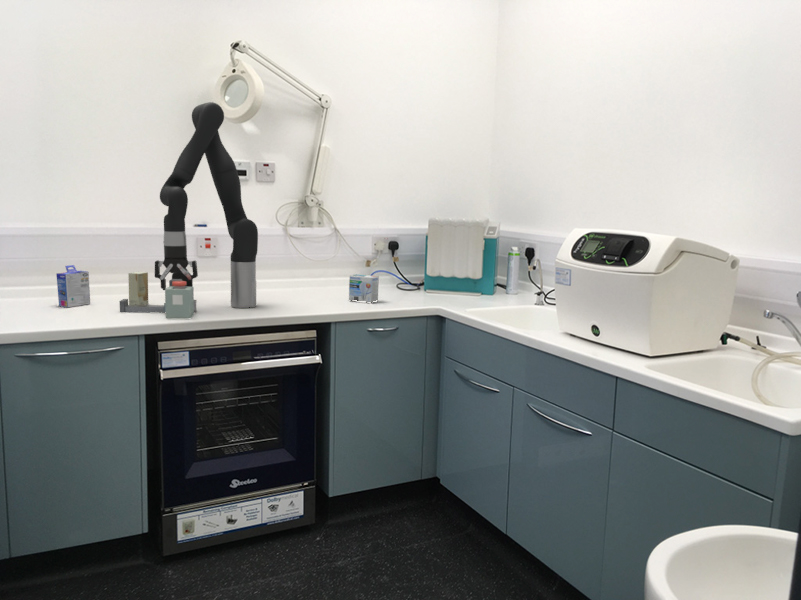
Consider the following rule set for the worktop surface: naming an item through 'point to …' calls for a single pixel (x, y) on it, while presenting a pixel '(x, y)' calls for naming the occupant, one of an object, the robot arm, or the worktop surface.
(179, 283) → the red button
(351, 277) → the light bulb box
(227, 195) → the robot arm
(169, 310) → the button housing
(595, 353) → the worktop surface
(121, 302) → the rail
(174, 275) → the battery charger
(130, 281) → the skincare box
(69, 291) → the ink cartridge box
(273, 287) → the worktop surface
